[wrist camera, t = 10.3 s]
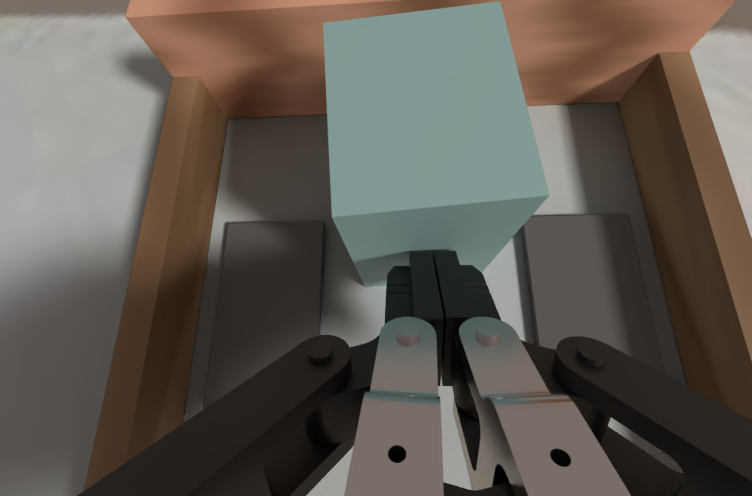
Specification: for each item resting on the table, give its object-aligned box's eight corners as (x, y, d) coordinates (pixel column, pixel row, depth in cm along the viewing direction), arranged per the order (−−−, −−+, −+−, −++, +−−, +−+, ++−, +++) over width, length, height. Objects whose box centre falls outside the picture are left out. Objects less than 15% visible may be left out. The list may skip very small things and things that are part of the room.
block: (364, 286, 16) (331, 217, 8) (356, 167, 18) (322, 22, 10) (478, 276, 16) (549, 195, 8) (458, 157, 18) (500, 1, 10)
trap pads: (208, 407, 15) (203, 409, 15) (232, 226, 17) (228, 223, 17) (666, 412, 14) (673, 414, 13) (623, 217, 16) (628, 214, 16)
